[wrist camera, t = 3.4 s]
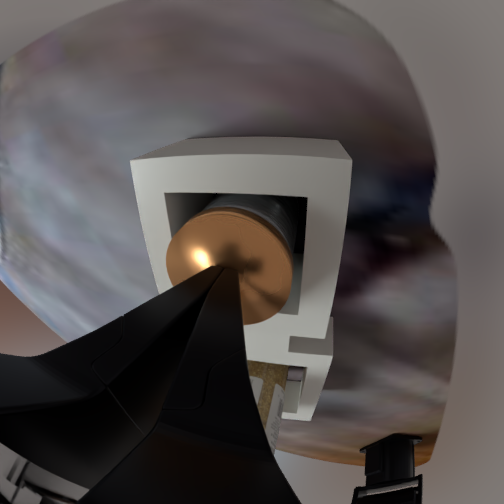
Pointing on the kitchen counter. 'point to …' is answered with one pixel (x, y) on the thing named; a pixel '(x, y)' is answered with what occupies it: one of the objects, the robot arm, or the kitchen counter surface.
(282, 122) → the kitchen counter surface
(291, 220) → the copper and black cylinder
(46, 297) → the kitchen counter surface
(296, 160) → the housing
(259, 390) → the sprinkles bottle
